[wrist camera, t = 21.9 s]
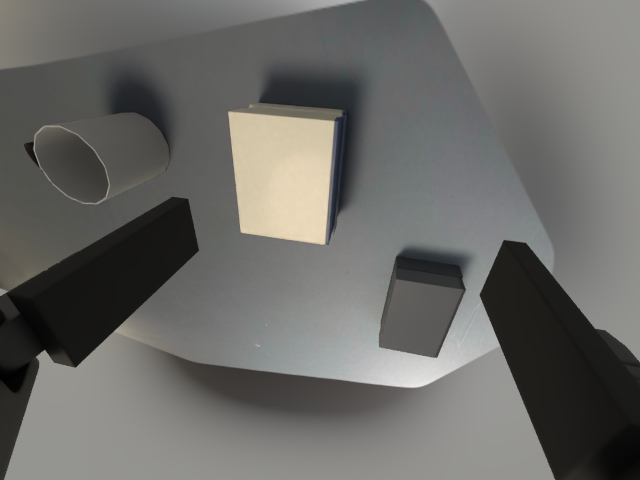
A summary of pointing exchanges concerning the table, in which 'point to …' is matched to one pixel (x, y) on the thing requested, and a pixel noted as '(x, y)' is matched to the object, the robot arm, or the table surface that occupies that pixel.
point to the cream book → (285, 173)
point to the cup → (101, 155)
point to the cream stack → (324, 113)
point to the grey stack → (420, 306)
